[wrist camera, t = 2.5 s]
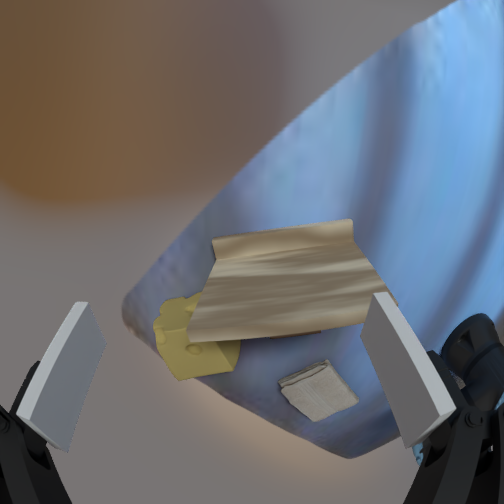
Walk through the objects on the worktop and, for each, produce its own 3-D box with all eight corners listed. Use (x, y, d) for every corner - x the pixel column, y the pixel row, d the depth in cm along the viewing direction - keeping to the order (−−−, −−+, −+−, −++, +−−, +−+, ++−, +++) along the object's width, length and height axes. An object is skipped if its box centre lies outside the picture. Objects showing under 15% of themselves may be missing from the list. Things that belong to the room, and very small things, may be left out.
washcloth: (325, 354, 49) (327, 365, 46) (360, 395, 53) (362, 405, 50) (273, 379, 52) (273, 390, 49) (315, 415, 57) (316, 425, 54)
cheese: (164, 299, 46) (142, 334, 36) (221, 283, 44) (208, 320, 34) (191, 344, 49) (176, 382, 40) (244, 332, 47) (238, 374, 38)
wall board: (352, 312, 44) (382, 393, 27) (235, 327, 47) (220, 411, 30) (349, 218, 38) (400, 275, 21) (213, 237, 41) (176, 304, 24)
